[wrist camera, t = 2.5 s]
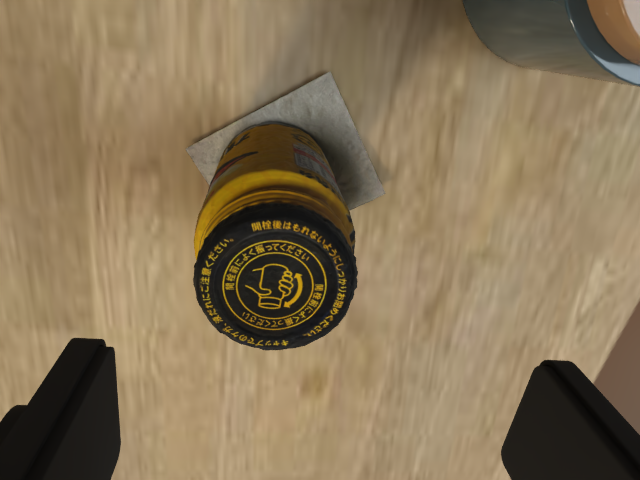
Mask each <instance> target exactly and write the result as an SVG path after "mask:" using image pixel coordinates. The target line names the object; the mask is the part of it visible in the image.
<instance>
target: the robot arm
mask: <svg viewBox="0 0 640 480" xmlns="http://www.w3.org/2000/svg"><path fill="white" fill-rule="evenodd" d="M120 445H121V439H120V424H119V409H118V394H117V379H116V364H115V351H114V348H113V347H106V344H105V341H104V340H103V339H87V338H73V339H71V340H70V342H69V343H68V344H67V346H66V347H65V349H64V350H63V352H62V353H61V355H60V356H59V358H58V359H57V361H56V363H55V364H54V366H53V367H52V369H51V370H50V372H49V373H48V375H47V376H46V378H45V379H44V381H43V382H42V384H41V385H40V387H39V388H38V390H37V391H36V393H35V394H34V396H33V397H32V399H31V400H30V402H29V403H28V405H16V406H14V407H13V408H11V409H10V410H9V412H8V413H7V414H6V415H5V416H4V418H3V419H2V421H1V422H0V480H111V477H112V474H113V471H114V469H115V466H116V463H117V460H118V457H119V452H120ZM501 456H502V461H503V464H504V466H505V468H506V470H507V472H508V474H509V476H510V478H511V479H512V480H640V435H639V434H638V433H637V432H636V431H635V430H634V429H633V427H632V426H631V425H630V424H629V423H628V422H627V421H626V420H625V419H624V418H623V416H622V415H621V414H620V413H619V412H618V411H617V410H616V409H615V408H614V407H613V405H612V404H611V403H610V402H609V401H608V400H607V399H606V398H605V397H604V396H603V394H602V393H601V392H600V391H599V390H598V389H597V388H596V387H595V386H594V385H593V383H592V382H591V381H590V380H589V379H588V378H587V377H586V376H585V375H584V374H583V373H582V371H581V370H580V369H579V368H578V367H577V366H576V365H575V364H574V363H573V362H570V361H558V360H544V361H543V362H541V364H540V365H539V366H537V367H536V368H535V369H534V370H533V372H532V375H531V377H530V380H529V382H528V385H527V387H526V390H525V392H524V395H523V397H522V399H521V402H520V404H519V407H518V409H517V412H516V414H515V417H514V419H513V422H512V424H511V427H510V429H509V431H508V434H507V436H506V439H505V441H504V444H503V446H502V450H501Z"/></svg>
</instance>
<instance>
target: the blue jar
mask: <svg viewBox="0 0 640 480" xmlns="http://www.w3.org/2000/svg"><path fill="white" fill-rule="evenodd" d="M463 4H464V7H465V11H466V14H467V16H468V18H469V21H470V23H471V25H472V27H473V29H474V30H475V32H476V34H477V35H478V37H479V38H480V39H481V41H482V42H483V43H484V44H485V45H486V46H487V48H489V49H490V50H491V51H492V52H493V53H494V54H496V55H497V56H498V57H500V58H502V59H503V60H505V61H507V62H509V63H511V64H514V65H516V66H519V67H524V68H528V69H534V70H540V71H546V72H552V73H558V74H564V75H570V76H576V77H582V78H588V79H594V80H600V81H606V82H612V83H618V84H624V85H630V86H636V87H640V0H463Z"/></svg>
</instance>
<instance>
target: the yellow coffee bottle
mask: <svg viewBox="0 0 640 480" xmlns="http://www.w3.org/2000/svg"><path fill="white" fill-rule="evenodd" d="M186 151H187V152H188V154H189V155H190V157H191V159H192V160H193V162H194V163H195V165H196V166H197V168H198V169H199V170H200V172H201V174H202V175H203V177H204V178H205V179H206V181H207V183H208V184H209V190H208V194H207V196H206V199H205V201H204V204H203V206H202V209H201V211H200V213H199V216H198V220H197V225H196V230H195V237H194V248H195V256H196V260H197V261H196V263H195V265H194V268H195V269H194V278H193V281H194V287H195V291H196V296H197V301H198V303H199V305H200V307H201V308H202V310H203V312H204V313H205V315H206V316H207V318H208V320H209V321H210V322H211V324H212V325H213V326H214V327H215V328H216V329H217V330H218V331H219V332H220V333H223V334H225V335H227V336H228V337H229V338H230V339H232V340H234V341H236V342H238V343H240V344H244V345H247V346H251V347H254V348H260V349H262V350H282V349H288V348H297V347H300V346H305V345H307V344H309V343H311V342H313V341H315V340H317V339H319V338H321V337H323V336H325V335H326V334H328V333H329V332H330V331H331V330H332V329H333V328H335V327H336V326H337V325H338V324H339V323H340V321H341V320H342V319H343V317H344V316H345V315H346V313H347V311H348V308H349V305H350V302H351V300H352V299H353V296H354V290H355V289H356V288H357V278H356V277H357V274H358V271H357V267H356V257H355V256H354V247H355V231H354V226H353V223H352V219H351V216H350V212H349V211H350V210H352V209H354V208H356V207H358V206H360V205H363V204H365V203H367V202H370V201H372V200H373V199H375V198H377V197H379V196H381V195H383V194H385V191H384V189H383V187H382V184H381V182H380V181H379V178H378V176H377V174H376V172H375V169H374V167H373V165H372V163H371V161H370V159H369V156H368V154H367V152H366V150H365V148H364V146H363V143H362V141H361V139H360V137H359V134H358V132H357V130H356V128H355V126H354V123H353V121H352V119H351V117H350V114H349V113H348V110H347V108H346V106H345V103H344V101H343V99H342V97H341V95H340V92H339V90H338V88H337V86H336V83H335V81H334V79H333V77H332V75H331V72H328V73H326V74H324V75H322V76H321V77H319V78H317V79H315V80H313V81H311V82H309V83H307V84H306V85H304V86H302V87H300V88H298V89H297V90H295V91H293V92H291V93H289V94H287V95H285V96H283V97H281V98H280V99H278V100H276V101H274V102H272V103H270V104H268V105H266V106H264V107H263V108H261V109H259V110H257V111H255V112H253V113H251V114H249V115H247V116H245V117H244V118H242V119H240V120H238V121H236V122H234V123H232V124H230V125H229V126H227V127H225V128H223V129H221V130H219V131H217V132H215V133H214V134H212V135H210V136H208V137H206V138H204V139H202V140H201V141H199V142H197V143H195V144H193V145H191V146H190V147H188V148H186Z"/></svg>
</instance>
